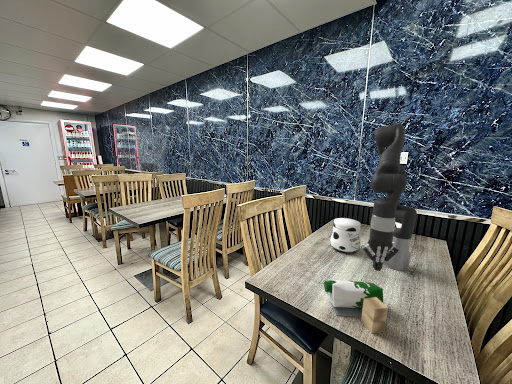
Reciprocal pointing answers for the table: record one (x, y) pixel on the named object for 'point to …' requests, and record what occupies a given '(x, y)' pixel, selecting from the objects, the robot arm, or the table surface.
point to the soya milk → (351, 293)
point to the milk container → (346, 235)
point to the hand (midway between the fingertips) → (376, 269)
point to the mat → (348, 311)
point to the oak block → (374, 314)
